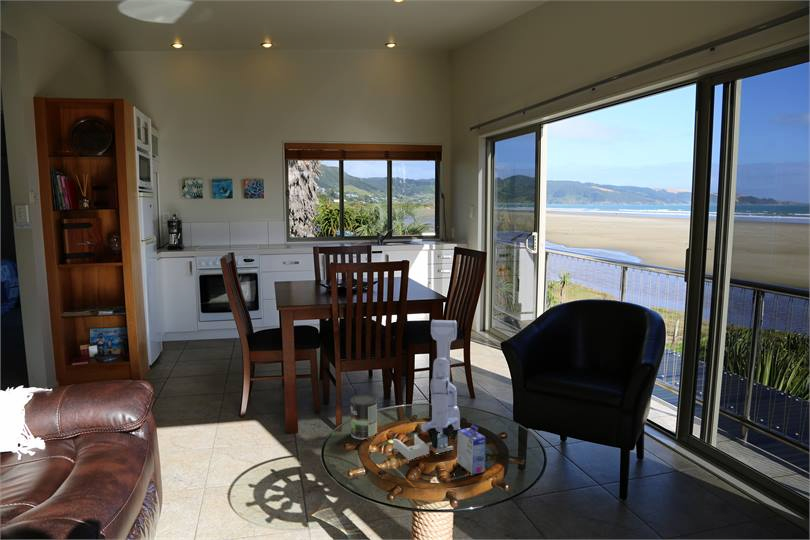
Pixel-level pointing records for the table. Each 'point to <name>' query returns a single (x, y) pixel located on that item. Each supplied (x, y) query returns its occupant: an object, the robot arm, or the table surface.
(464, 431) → the ink cartridge box
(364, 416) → the coffee can
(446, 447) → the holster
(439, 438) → the plug
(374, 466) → the table surface
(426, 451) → the port
